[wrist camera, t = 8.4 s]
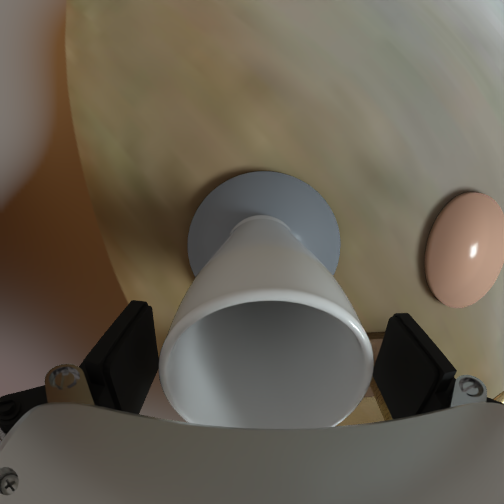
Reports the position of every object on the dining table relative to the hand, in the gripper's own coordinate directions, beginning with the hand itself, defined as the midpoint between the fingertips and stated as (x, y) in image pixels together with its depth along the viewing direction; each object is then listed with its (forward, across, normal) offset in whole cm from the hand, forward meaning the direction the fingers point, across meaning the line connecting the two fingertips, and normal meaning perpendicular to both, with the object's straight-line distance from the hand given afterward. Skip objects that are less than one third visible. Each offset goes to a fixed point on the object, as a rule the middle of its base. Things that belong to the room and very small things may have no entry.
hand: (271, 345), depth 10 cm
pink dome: (+13, -21, -1) cm, 25 cm away
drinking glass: (+12, 0, 0) cm, 13 cm away
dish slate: (+13, 0, 0) cm, 13 cm away
